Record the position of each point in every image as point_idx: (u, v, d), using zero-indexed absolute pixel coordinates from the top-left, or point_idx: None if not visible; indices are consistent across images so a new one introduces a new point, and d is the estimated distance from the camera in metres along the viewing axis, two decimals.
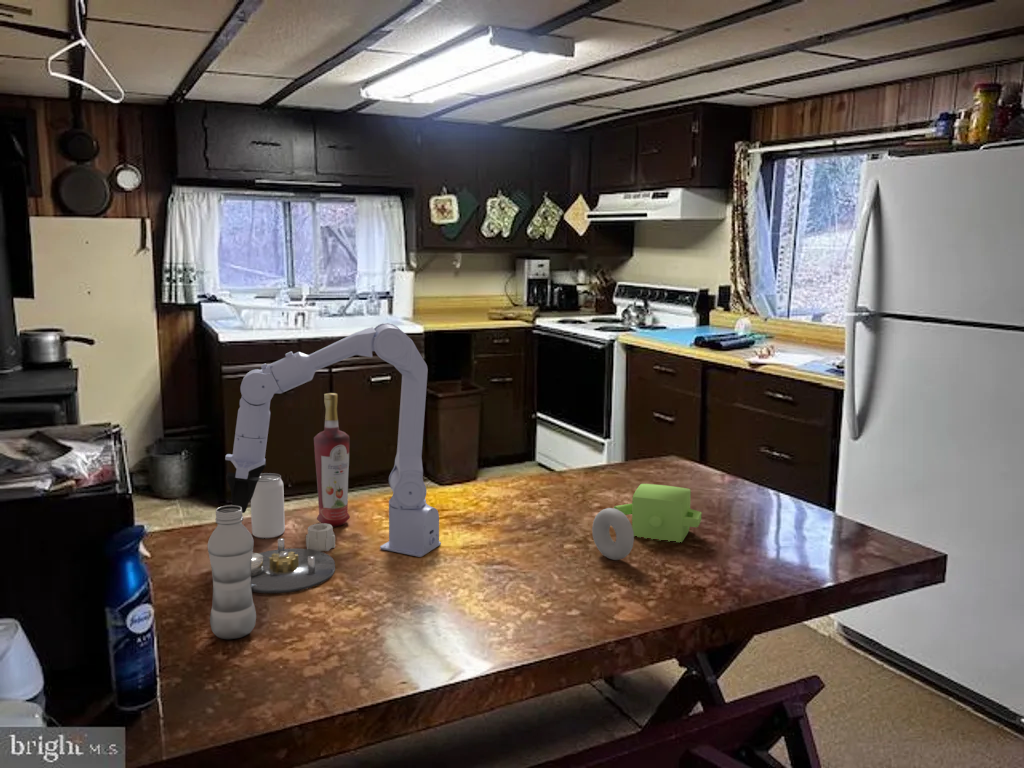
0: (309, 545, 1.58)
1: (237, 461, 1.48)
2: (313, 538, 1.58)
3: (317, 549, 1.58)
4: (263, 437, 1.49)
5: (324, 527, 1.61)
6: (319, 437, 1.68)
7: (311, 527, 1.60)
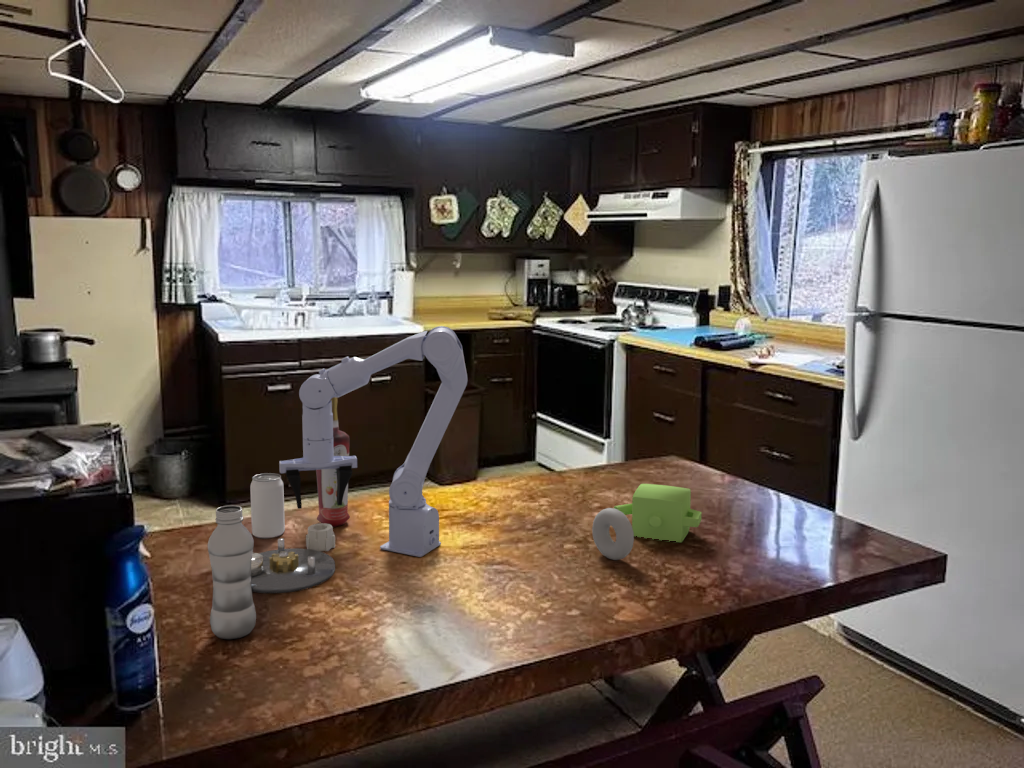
0: (309, 545, 1.58)
1: None
2: (313, 538, 1.58)
3: (317, 549, 1.58)
4: (310, 440, 1.54)
5: (324, 527, 1.61)
6: None
7: (311, 527, 1.60)
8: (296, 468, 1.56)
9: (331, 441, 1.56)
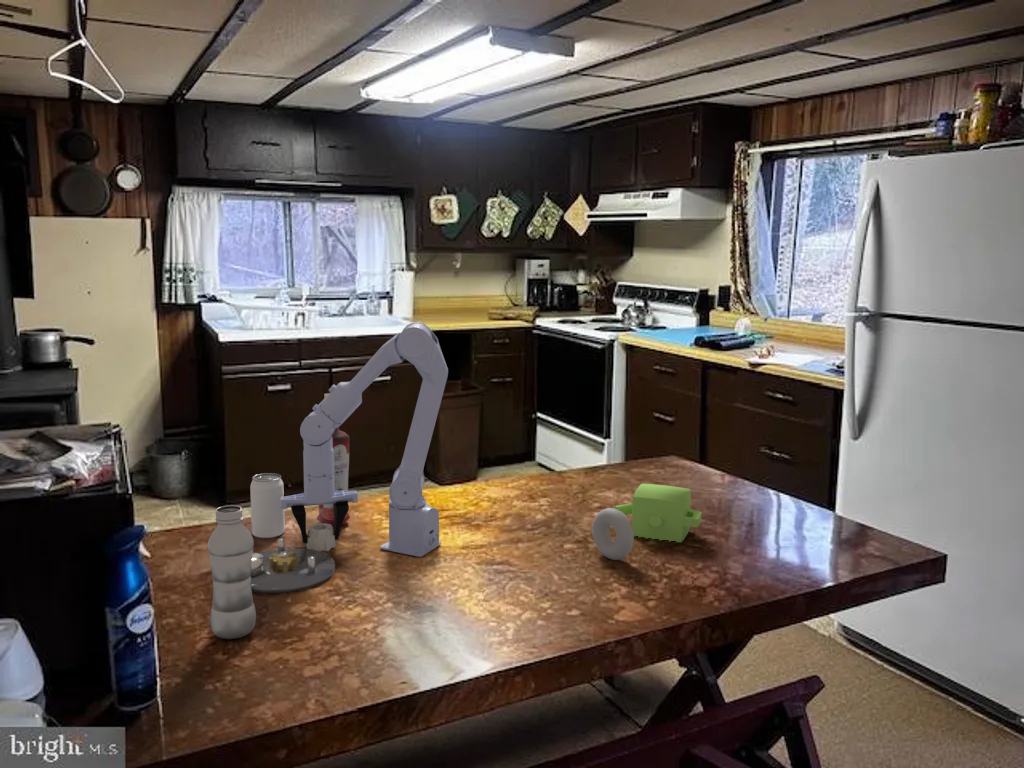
0: (309, 545, 1.58)
1: None
2: (313, 538, 1.58)
3: (317, 549, 1.58)
4: (311, 476, 1.55)
5: (324, 527, 1.61)
6: None
7: (311, 527, 1.60)
8: (297, 504, 1.57)
9: (332, 477, 1.57)
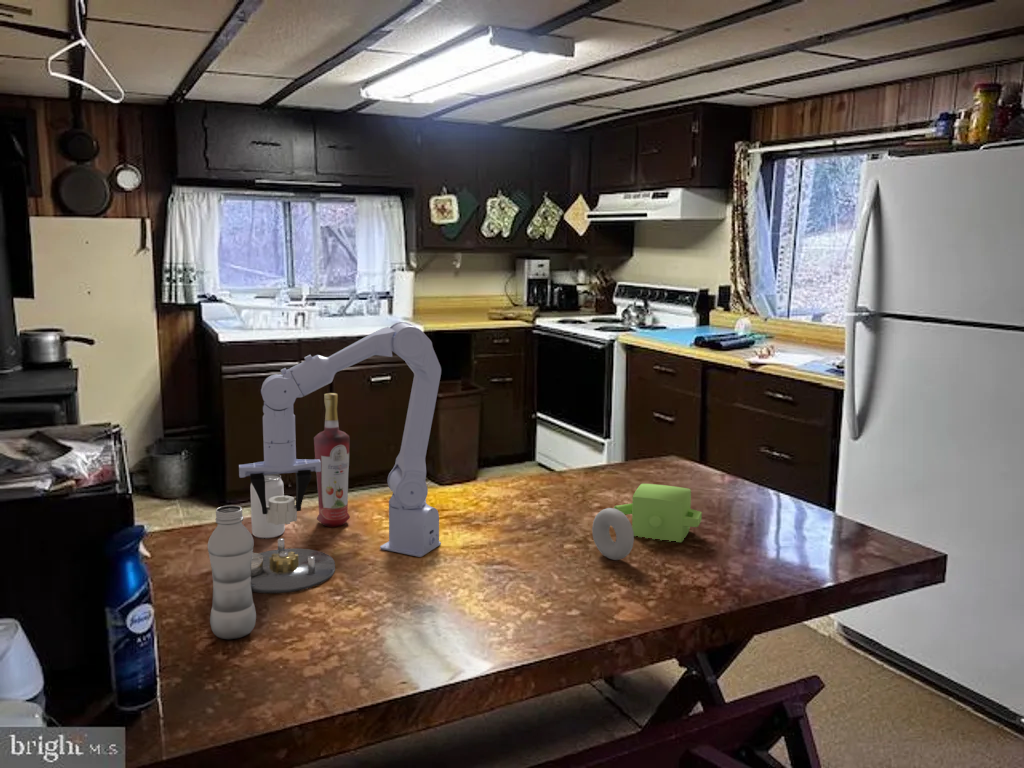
0: (269, 517, 1.51)
1: None
2: (273, 510, 1.50)
3: (277, 522, 1.50)
4: (271, 442, 1.48)
5: (286, 499, 1.54)
6: (319, 437, 1.68)
7: (272, 499, 1.52)
8: (256, 472, 1.50)
9: (293, 444, 1.50)
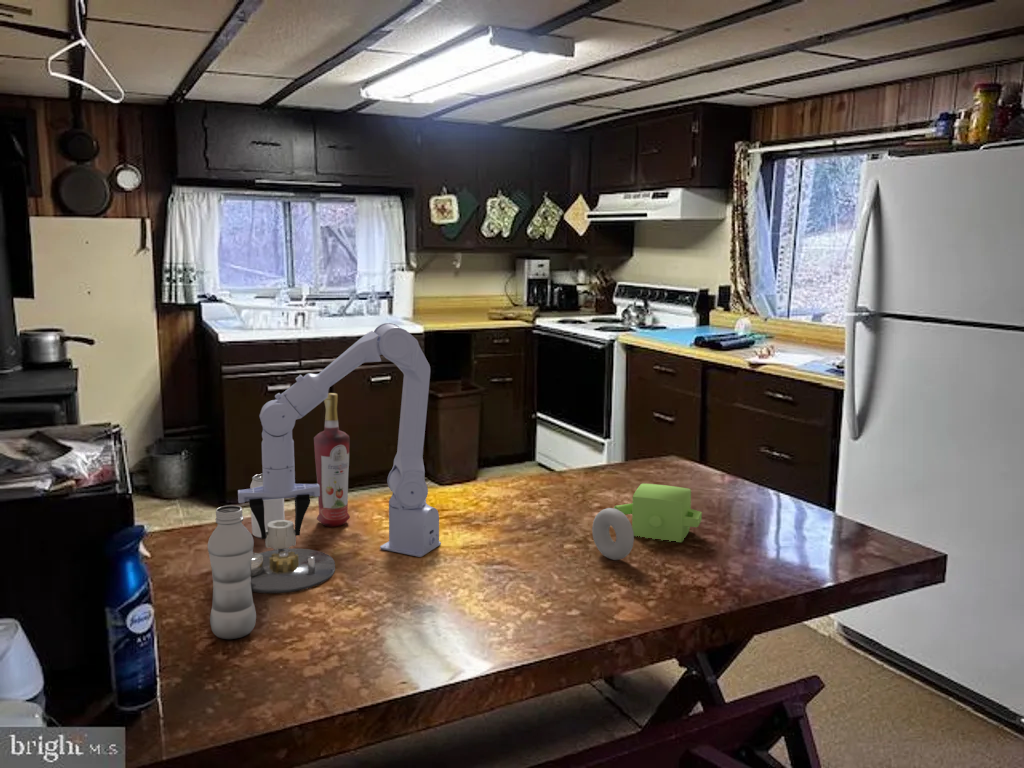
0: (268, 542, 1.51)
1: None
2: (272, 535, 1.51)
3: (276, 547, 1.51)
4: (270, 468, 1.48)
5: (285, 524, 1.54)
6: (319, 437, 1.68)
7: (271, 523, 1.53)
8: (255, 497, 1.50)
9: (292, 469, 1.50)
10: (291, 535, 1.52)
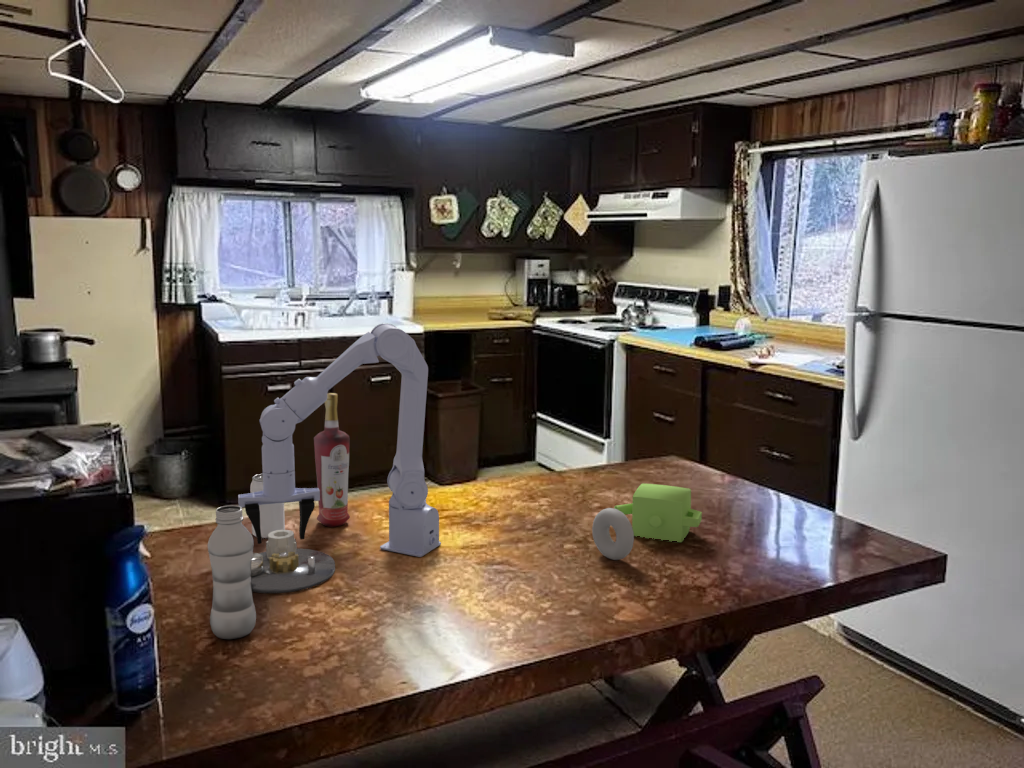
0: (269, 553, 1.52)
1: None
2: (273, 545, 1.51)
3: None
4: (270, 473, 1.48)
5: (285, 534, 1.54)
6: (319, 437, 1.68)
7: (271, 534, 1.53)
8: (256, 502, 1.50)
9: (292, 474, 1.50)
10: (292, 545, 1.53)
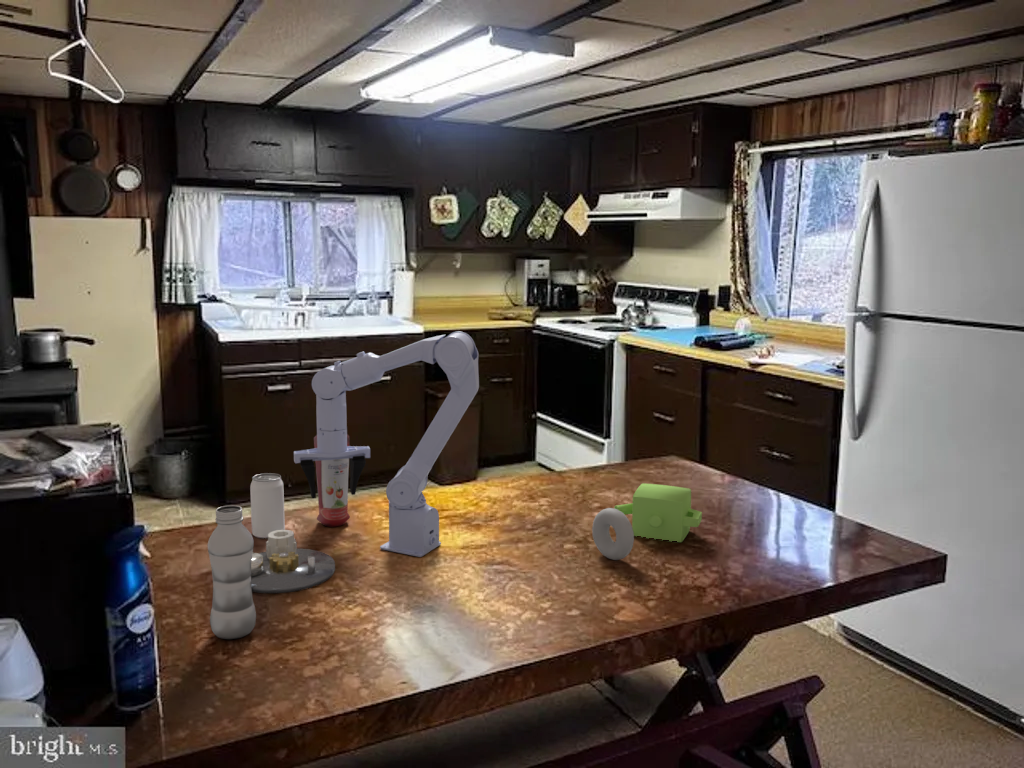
0: (269, 553, 1.52)
1: None
2: (273, 545, 1.51)
3: None
4: (324, 430, 1.56)
5: (285, 534, 1.54)
6: None
7: (271, 534, 1.53)
8: (310, 458, 1.58)
9: (345, 431, 1.58)
10: (292, 545, 1.53)
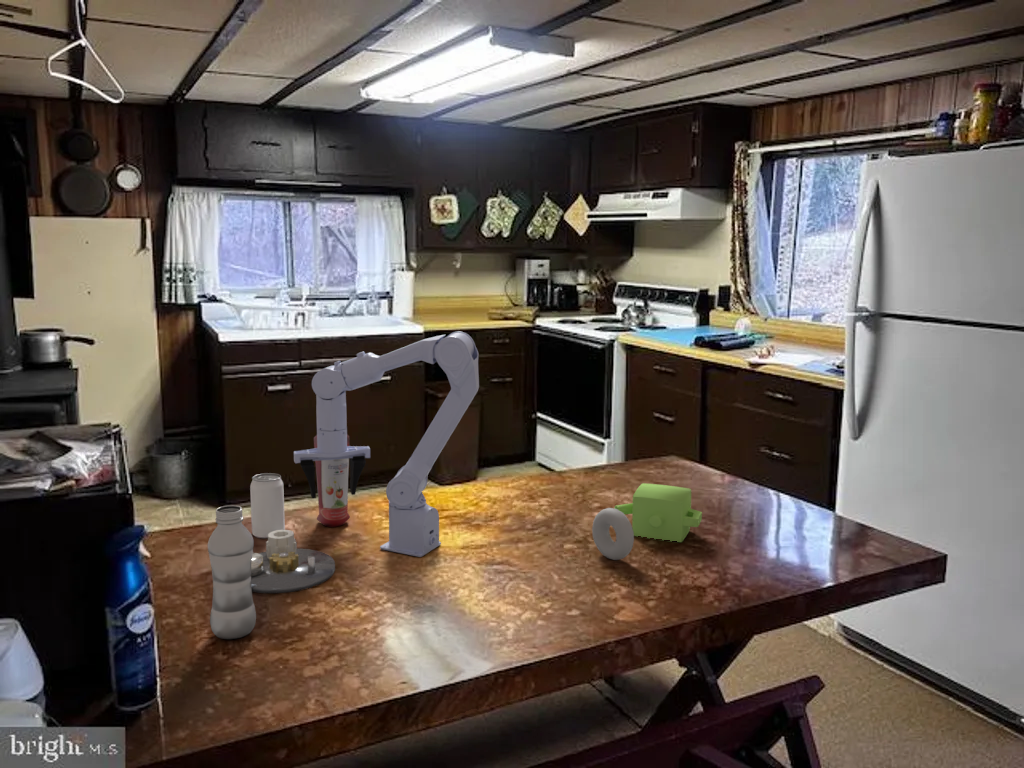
0: (269, 553, 1.52)
1: None
2: (273, 545, 1.51)
3: None
4: (324, 430, 1.56)
5: (285, 534, 1.54)
6: None
7: (271, 534, 1.53)
8: (310, 458, 1.58)
9: (345, 431, 1.58)
10: (292, 545, 1.53)
